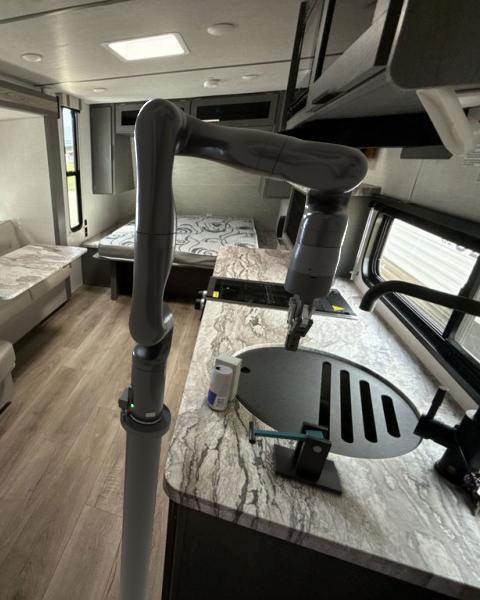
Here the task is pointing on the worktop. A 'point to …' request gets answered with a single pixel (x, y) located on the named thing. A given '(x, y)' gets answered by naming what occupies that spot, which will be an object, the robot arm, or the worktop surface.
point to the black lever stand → (308, 461)
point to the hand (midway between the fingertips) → (290, 349)
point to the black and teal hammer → (278, 434)
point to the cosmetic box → (236, 367)
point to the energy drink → (219, 386)
